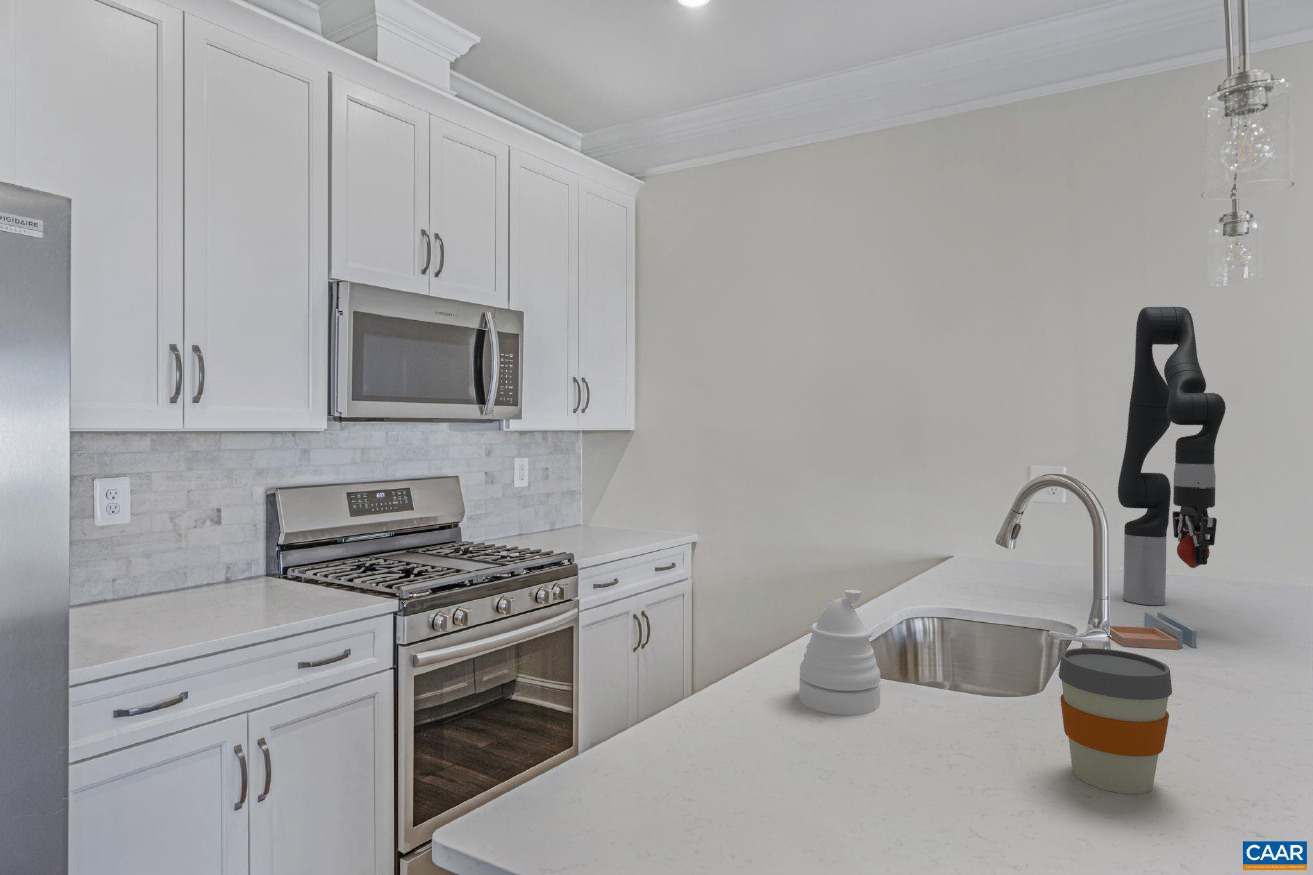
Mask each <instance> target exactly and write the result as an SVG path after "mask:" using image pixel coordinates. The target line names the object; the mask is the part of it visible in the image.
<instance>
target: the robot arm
mask: <svg viewBox="0 0 1313 875" xmlns="http://www.w3.org/2000/svg"><path fill="white" fill-rule="evenodd" d="M1137 316H1138V317H1137V321H1136V328H1135V329H1136V330H1135V348H1134V350H1135V352H1134V354H1135V355H1134V371H1133V379H1132V380H1133V381H1132V387H1131V392H1130V401H1129V409H1128V417H1127V418H1128V419H1127V433H1126V440H1125V449H1124V453H1123V458H1122V464H1121V469H1120V473H1119V477H1118V484H1117V498H1118V502H1119V503H1120V505H1121V506H1122V507H1123V508H1126V509H1146V512H1145V513H1144V514H1142V516H1140V517H1138V518H1136V519H1133V520H1130V521H1127V522H1126V523H1125V524H1124V531H1123V532H1124V539H1123V540H1124V544H1123V551H1124V552H1123V584H1122V586H1123V587H1122V588H1123V590H1122V592H1123V593H1122V596H1123V597H1122V599H1123V600H1124V601H1125V602H1129V603H1132V604H1139V605H1147V606H1163V605H1166V587H1167V586H1166V584H1167V580H1166V579H1167V540H1168V539H1167V535H1168V534H1167V532H1168V527H1169V524H1170V523H1169V522H1170V510H1171V509H1170V508H1171V507H1170V506H1171V497H1172V488H1171V482H1170V479H1169V478H1168V476H1167V475H1165V473H1162V472H1161V473H1160V472H1142V469H1143V465H1144V462H1145V461H1146V458H1147V456H1148V454H1149V453H1150V451H1151V450H1152V449H1153V447H1154V446H1156V444H1157V443H1158V442H1159V441H1160V440H1161V439H1162V437H1163V436H1164V434H1166V432H1167V431H1168V429H1169V427H1170V425H1171V423H1173V424H1175V425H1178V426H1202V427H1201V429H1200V431H1198V433H1196V434H1191V435H1186V436H1182V437H1179V438H1177V439H1176V441H1175V457H1174V458H1175V464H1174V466H1175V467H1174V471H1173V502H1172V503H1173V505H1174V506H1177V507H1180V510H1179V511H1177V510H1176V511H1175V510H1174V511H1172V526H1173V528H1172V529H1173V530H1172V531H1173V537H1174V539H1177V542H1178V543H1180V541H1181V540H1182V539H1184V538H1185V537H1187V536H1189V532H1190V536H1192V537H1193V539H1194V544H1195V546H1196V547H1194V563H1195V564H1198V565H1199V566H1201V565H1202V566H1203V565H1204V566H1205V565H1207V564H1208V559H1207V547H1209V548H1210V546H1214V545H1215V541H1216V533H1217V523H1218V519H1217V518H1216V517H1210V516H1209V513H1208V510H1209V508H1214V507H1215V506H1216V480H1217V479H1216V469H1215V447H1216V441H1217V437H1218V434H1219V431H1220V427H1221V426H1222V421H1223V419H1224V417H1225V415H1226V414H1225V413H1226V409H1227V408H1226V402H1225V400H1224V398H1223V397H1222V395H1220V394H1219V393H1215V392H1205V391H1206V390H1207V381H1206V378H1205V376H1204V374H1203V370H1202V368H1201V366H1200V362H1199V359H1198V350H1197V342H1196V335H1195V334H1196V332H1195V327H1194V321H1193V316H1192V314H1191V312H1190V310H1189V309H1187V308H1186V307H1183V306H1145V307H1143V308H1142V309H1141V310H1140V312H1138V315H1137ZM1154 345H1161V346H1162V345H1165V346H1166V345H1170V346H1171V345H1177V347H1176V349H1175V350H1174V351H1173V352H1172V354H1170V356H1169V357H1168V358H1167V360H1166V362H1165V364H1164V369H1163V373H1164V378H1165V379H1164V378H1163V376H1162V375H1161V373H1160V371H1159V369H1158V367H1157V365H1156V362H1155V359H1154V354H1153V346H1154ZM1198 537H1199V538H1198Z"/></svg>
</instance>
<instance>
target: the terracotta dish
mask: <svg viewBox="0 0 1313 875" xmlns="http://www.w3.org/2000/svg"><path fill="white" fill-rule="evenodd" d="M1110 635H1111V636H1112V639H1111V640H1113V641H1115V642H1116V643H1117V644H1119V645H1120V646H1121V647H1125V648H1146V649H1161V650H1162V649H1163V650H1179V648H1178V640H1176V639H1175V638H1173V637H1171V636H1169V635H1167V634H1166V633H1164V632H1162V631H1160V630H1159V629H1157V628H1150V627H1144V626H1127V625H1126V626H1125V625H1110Z"/></svg>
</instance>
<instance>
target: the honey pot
mask: <svg viewBox="0 0 1313 875" xmlns="http://www.w3.org/2000/svg"><path fill="white" fill-rule="evenodd" d="M844 595H845V598H843V597H842V598H841V597H840V598H835V599H833V600H831V601H830V603H828V604H827V605H826V607H825V608H824V610H823V611H822V613H821V614H820V617H819V619H818V621H817V622H814V623H812V625H810V632H811V633H812V634H811V636H810V639H809V642H808V643H807V644H806V647H805V648H806V651H805V653H804V654H803V660H802V661H801V662H800V665H799V691H798V692H799V694H798V695H799V700H800V702H801V703H802V704H803V705H804V706H806V707H807V708H810V709H812V710H815V711H819V712H823V713H827V714H832V715H841V716H842V715H843V716H857V715H859V716H860V715H864V714H869V713H874V712H875V711H876V710H878V709H880V706H881V670H880V668H879V667H878V665H877V659H876V657H875V651H874V650H875V649H874V648H873V647H872V646H871V643H870V638H872V637H873V635H874V630H873V629H872V628H871V627H869V626H868V625H865V624H864V623H863V622H862V620H861V618H860V616H859V614H858V612H857V610H856V609H855V607H854V606H853V604H856V603H858V602H859V601H860V598H861V595H862V591H861V590H858V589H846V590H844Z"/></svg>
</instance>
